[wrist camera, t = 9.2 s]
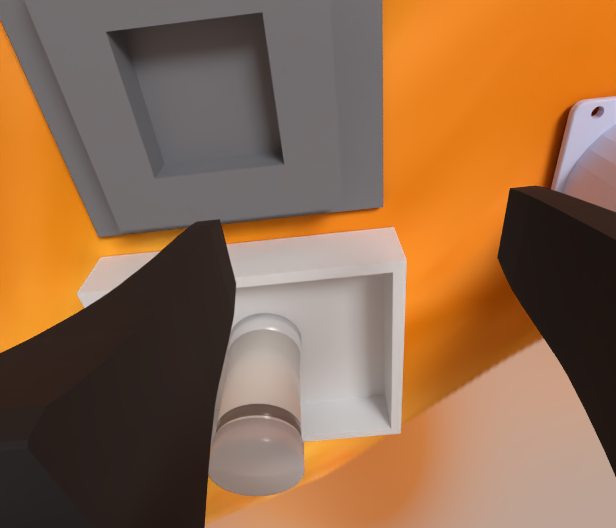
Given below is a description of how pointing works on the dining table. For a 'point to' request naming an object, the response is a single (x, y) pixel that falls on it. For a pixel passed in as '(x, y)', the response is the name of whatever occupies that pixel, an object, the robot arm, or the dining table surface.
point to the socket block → (208, 105)
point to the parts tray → (318, 320)
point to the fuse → (260, 409)
